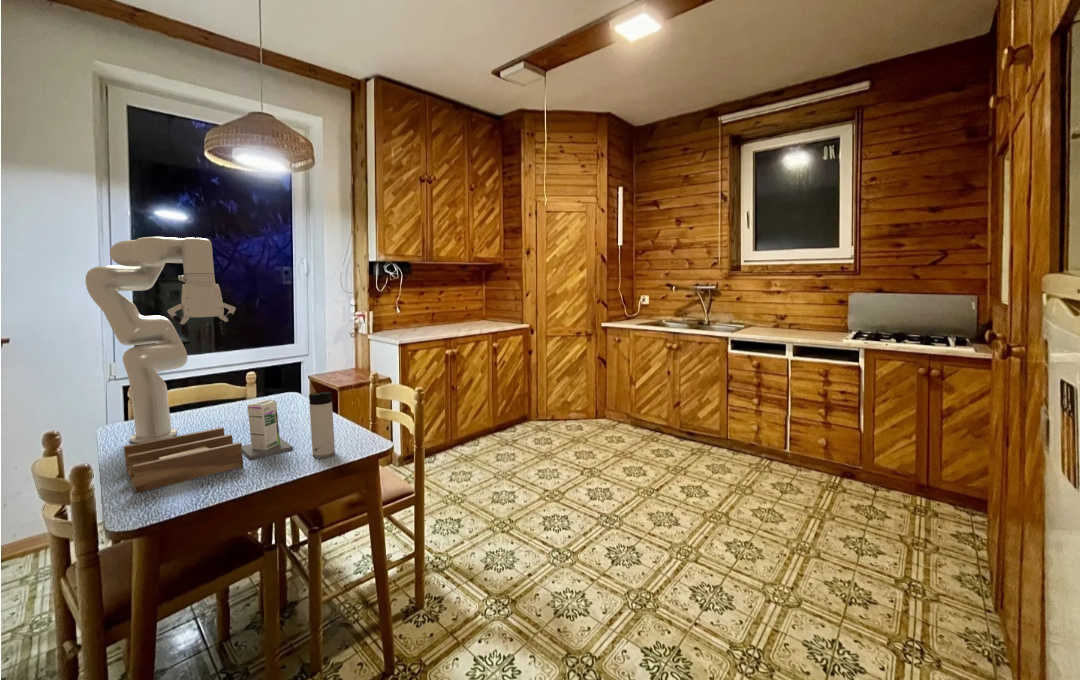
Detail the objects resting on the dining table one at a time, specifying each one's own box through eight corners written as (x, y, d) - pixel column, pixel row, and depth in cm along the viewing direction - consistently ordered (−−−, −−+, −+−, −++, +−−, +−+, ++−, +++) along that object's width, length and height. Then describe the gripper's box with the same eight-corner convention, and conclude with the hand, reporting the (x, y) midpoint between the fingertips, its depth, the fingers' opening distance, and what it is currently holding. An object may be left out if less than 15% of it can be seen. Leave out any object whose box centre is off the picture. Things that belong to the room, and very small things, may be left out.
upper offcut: (159, 468, 133) (158, 457, 132) (205, 456, 142) (204, 446, 141) (167, 472, 130) (166, 462, 129) (213, 460, 139) (212, 450, 138)
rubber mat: (239, 449, 154) (238, 446, 154) (280, 440, 163) (279, 437, 162) (250, 459, 146) (250, 456, 146) (292, 449, 154) (292, 446, 154)
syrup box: (266, 451, 150) (262, 405, 148) (250, 449, 152) (246, 403, 150) (280, 444, 156) (277, 400, 154) (265, 443, 157) (261, 399, 155)
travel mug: (315, 460, 145) (311, 395, 142) (310, 454, 150) (306, 390, 147) (337, 456, 149) (333, 392, 146) (332, 449, 154) (328, 388, 151)
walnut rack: (126, 469, 138) (123, 446, 137) (224, 448, 155) (222, 427, 154) (136, 493, 124) (133, 466, 123) (243, 466, 140) (241, 443, 140)
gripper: (166, 280, 139) (172, 339, 141) (236, 279, 151) (240, 334, 153) (162, 279, 144) (168, 337, 146) (229, 279, 156) (234, 332, 159)
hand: (205, 335), depth 150 cm, fingers open, 9 cm apart
